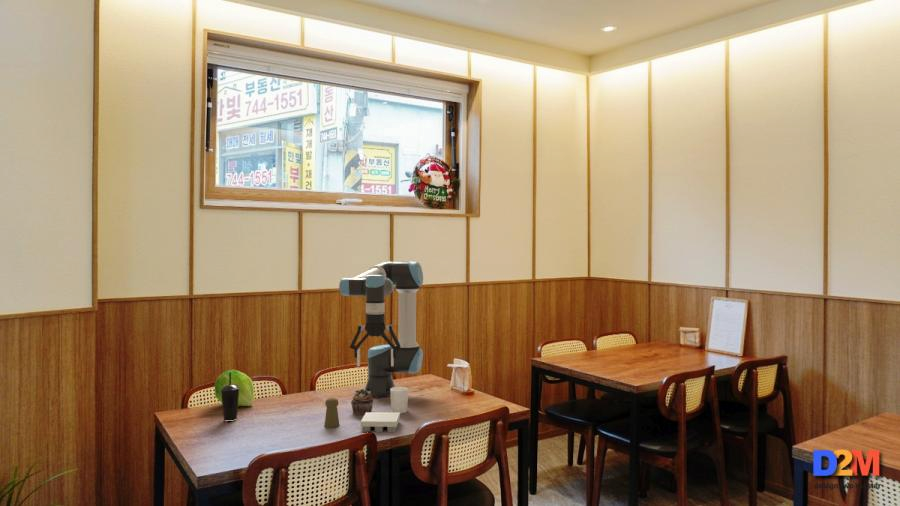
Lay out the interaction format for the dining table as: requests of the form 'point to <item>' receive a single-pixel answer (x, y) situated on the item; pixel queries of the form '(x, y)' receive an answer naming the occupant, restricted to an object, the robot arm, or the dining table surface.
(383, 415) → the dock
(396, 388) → the white cup
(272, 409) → the dining table surface
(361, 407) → the cupcake
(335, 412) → the cork
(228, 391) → the drinking cup
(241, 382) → the lettuce
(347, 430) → the dining table surface
